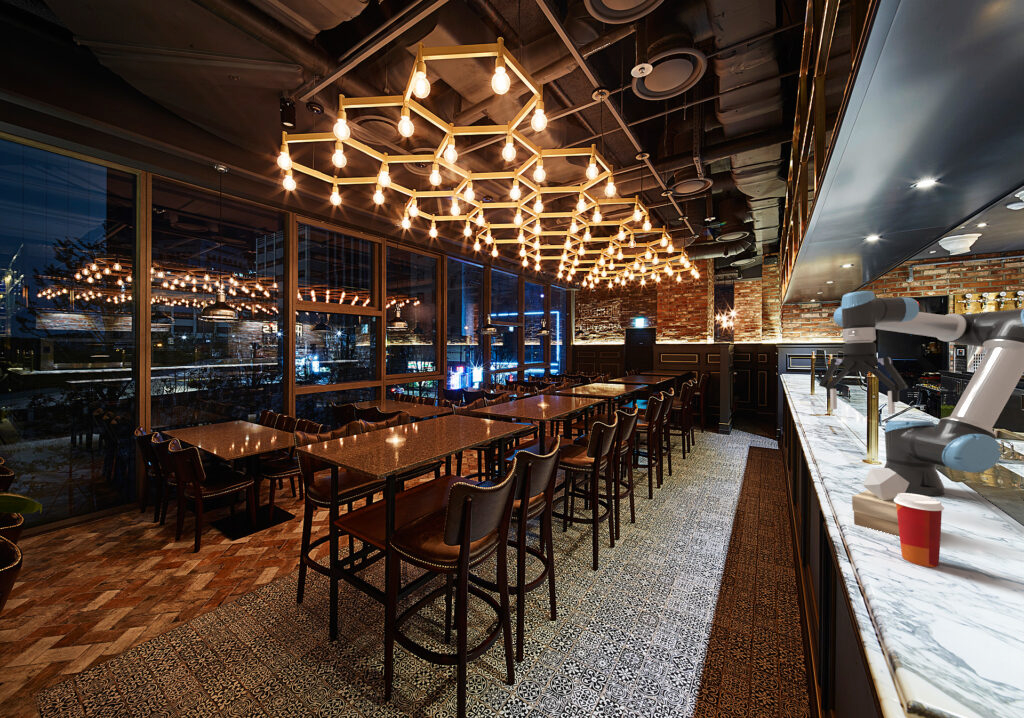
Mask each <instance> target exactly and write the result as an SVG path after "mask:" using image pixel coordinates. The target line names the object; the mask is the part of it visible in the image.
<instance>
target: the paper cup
mask: <svg viewBox="0 0 1024 718" xmlns="http://www.w3.org/2000/svg"><path fill="white" fill-rule="evenodd" d="M894 502H895V503H896V508H897V517H898V527H899V535H900V537H899V543H900V544H899V545H900V550H901V558H902V559H903V560H905V561H906V562H908V563H911V564H913V565H916V566H919V567H925V568H934V569H935V568H938V567H939V565H940V564H939V563H940V552H941V550H940V549H941V535H942V531H941V530H942V512H943V511H944V510H945V507H944V506H943V505H942V502H941V501H939V500H938V499H935V498H933V497H930V496H929V495H918V494H911V493H899V494H897V496H896V498H895V499H894Z"/></svg>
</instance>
